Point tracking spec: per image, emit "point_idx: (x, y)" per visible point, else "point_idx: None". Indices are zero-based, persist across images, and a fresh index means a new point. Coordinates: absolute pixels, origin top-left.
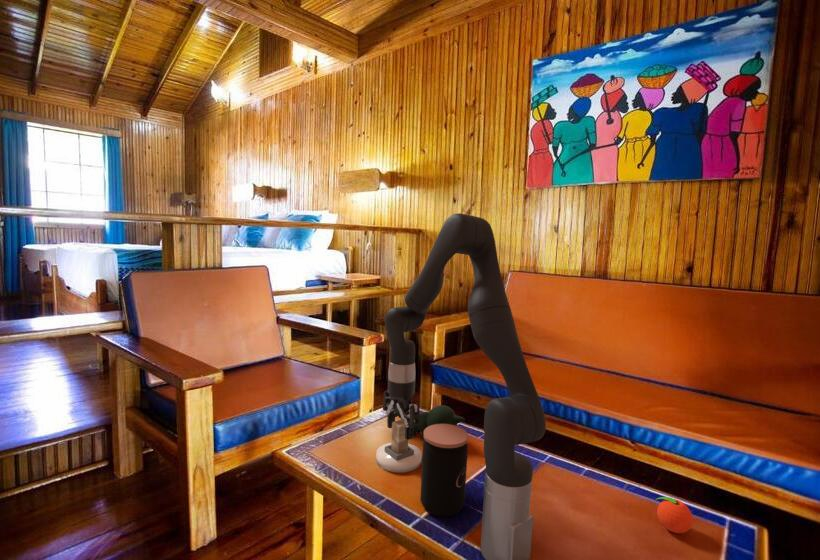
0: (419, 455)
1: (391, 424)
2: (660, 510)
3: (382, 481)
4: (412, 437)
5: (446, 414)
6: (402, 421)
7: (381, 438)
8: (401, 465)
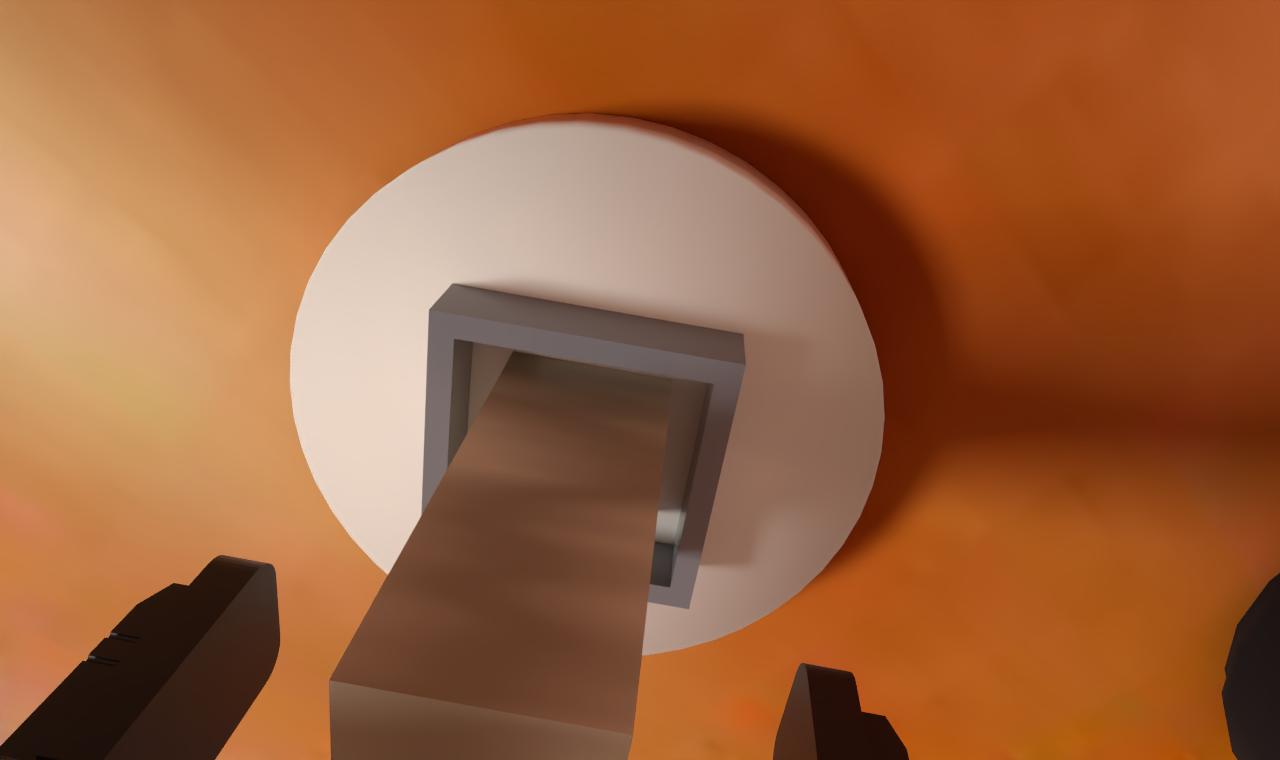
0: (812, 290)
1: (241, 663)
2: None
3: (759, 718)
4: (852, 680)
5: None
6: (424, 733)
7: (36, 183)
8: (796, 592)
